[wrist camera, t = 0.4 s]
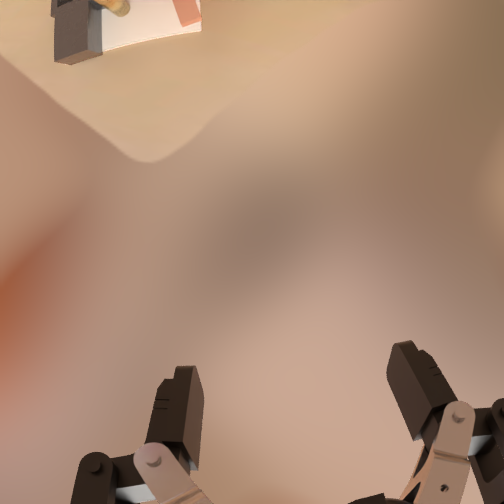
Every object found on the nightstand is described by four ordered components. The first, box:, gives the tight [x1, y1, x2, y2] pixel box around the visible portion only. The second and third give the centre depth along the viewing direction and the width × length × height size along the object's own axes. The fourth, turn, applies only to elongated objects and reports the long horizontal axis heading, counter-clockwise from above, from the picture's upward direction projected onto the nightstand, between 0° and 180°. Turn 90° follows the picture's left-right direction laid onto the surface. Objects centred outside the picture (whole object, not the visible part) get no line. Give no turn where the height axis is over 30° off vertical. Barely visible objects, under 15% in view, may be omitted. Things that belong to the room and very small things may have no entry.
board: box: [102, 0, 202, 52], centre depth 26 cm, size 12×18×1 cm
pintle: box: [94, 0, 130, 17], centre depth 23 cm, size 2×2×8 cm
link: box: [51, 0, 106, 65], centre depth 24 cm, size 12×6×4 cm, turn 4°
